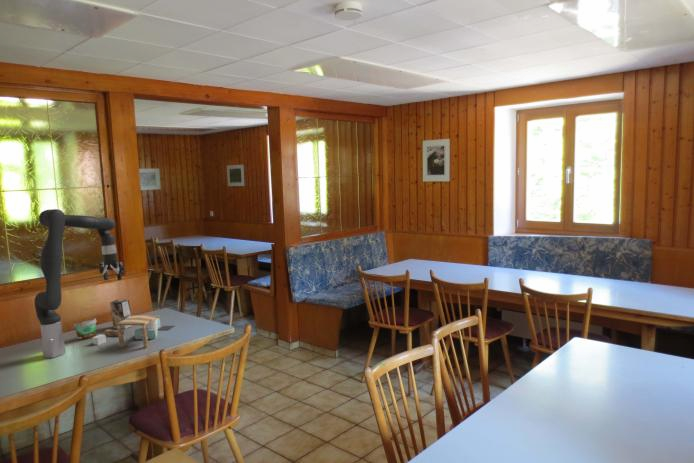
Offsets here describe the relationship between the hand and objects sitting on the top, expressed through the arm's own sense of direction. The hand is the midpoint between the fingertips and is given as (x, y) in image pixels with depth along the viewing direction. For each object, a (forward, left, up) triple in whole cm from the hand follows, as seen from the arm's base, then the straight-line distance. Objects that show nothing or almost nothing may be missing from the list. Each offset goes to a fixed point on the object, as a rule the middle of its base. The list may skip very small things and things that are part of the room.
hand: (113, 280), depth 287 cm
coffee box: (+6, +2, -30) cm, 31 cm away
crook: (-3, -26, -30) cm, 40 cm away
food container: (-13, +10, -30) cm, 34 cm away
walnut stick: (-8, -3, -30) cm, 32 cm away
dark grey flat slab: (+4, -28, -30) cm, 41 cm away
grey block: (-21, -3, -30) cm, 37 cm away
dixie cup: (-9, -27, -30) cm, 42 cm away
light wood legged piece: (-20, -28, -30) cm, 46 cm away
